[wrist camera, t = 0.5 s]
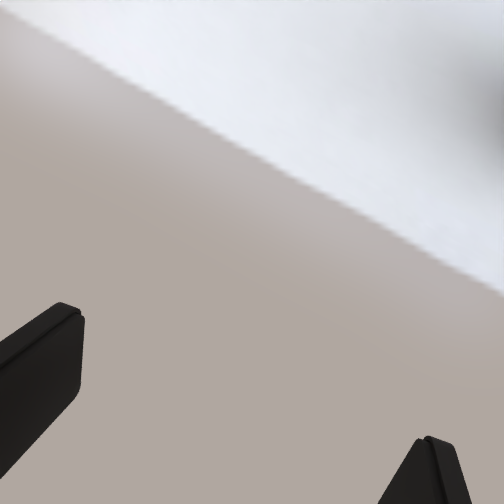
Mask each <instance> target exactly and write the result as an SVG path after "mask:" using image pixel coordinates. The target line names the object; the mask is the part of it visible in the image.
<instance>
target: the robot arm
mask: <svg viewBox="0 0 504 504" xmlns="http://www.w3.org/2000/svg"><path fill="white" fill-rule="evenodd" d="M84 325H85V318H84V316H82V315H81V311H80V309H78V308H76V307H73V306H70V305H67V304H65V303H61V302H58V303H56V304H54V305H53V306H52V307H50V308H49V309H47V310H46V311H44V312H43V313H41V314H40V315H38V316H37V317H35V318H34V319H33V320H31V321H30V322H28V323H27V324H25V325H24V326H23V327H21V328H19V329H18V330H17V331H15V332H14V333H13V334H11V335H9V336H8V337H6V338H5V339H4V340H2V341H1V342H0V479H1V478H2V477H3V476H4V475H5V474H6V473H7V471H8V470H9V469H10V468H11V467H12V466H13V465H14V464H15V463H16V462H17V461H18V460H19V458H20V457H21V456H22V455H23V454H24V453H25V452H26V451H27V450H28V449H29V448H30V447H31V445H32V444H33V443H34V442H35V441H36V440H37V439H38V438H39V437H40V435H42V434H43V432H44V431H45V430H46V429H47V428H48V427H49V426H50V425H51V424H52V422H54V420H55V419H56V418H57V417H58V416H59V415H60V414H61V413H62V412H63V411H64V409H66V407H67V406H68V405H69V404H70V403H71V402H72V401H73V400H74V399H75V397H76V396H77V394H78V392H79V389H80V386H81V370H82V356H83V341H84ZM378 504H472V502H471V499H470V496H469V492H468V489H467V486H466V483H465V480H464V476H463V473H462V470H461V467H460V464H459V460H458V457H457V454H456V451H455V448H454V446H453V445H452V444H450V443H448V442H445V441H442V440H439V439H437V438H434V437H431V436H426V437H424V439H423V440H422V439H419V438H418V439H417V440H416V441H415V442H414V444H413V446H412V447H411V449H410V451H409V452H408V454H407V455H406V458H405V459H404V461H403V462H402V464H401V465H400V467H399V469H398V470H397V472H396V474H395V475H394V477H393V479H392V480H391V482H390V484H389V485H388V487H387V489H386V490H385V492H384V494H383V495H382V497H381V499H380V500H379V502H378Z"/></svg>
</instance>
